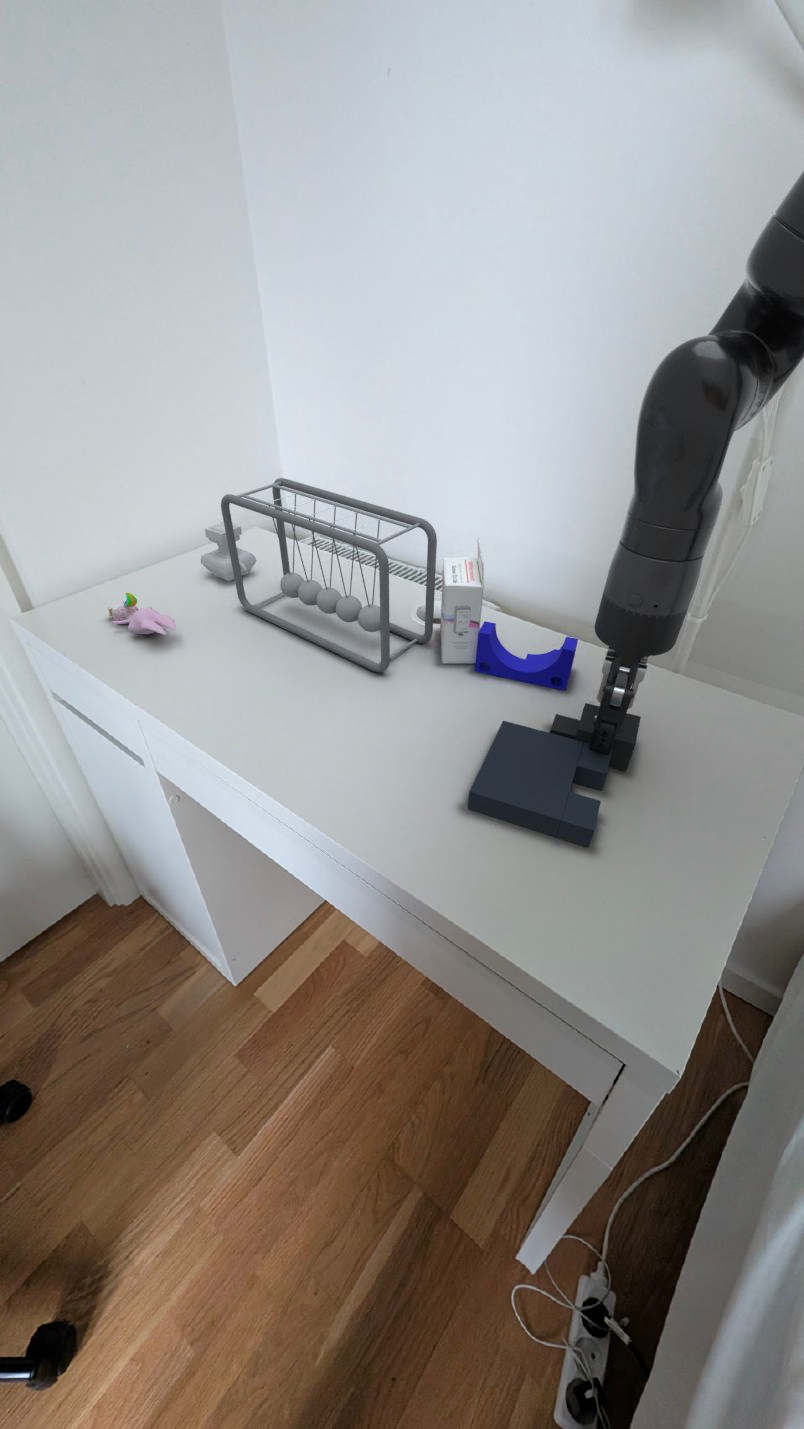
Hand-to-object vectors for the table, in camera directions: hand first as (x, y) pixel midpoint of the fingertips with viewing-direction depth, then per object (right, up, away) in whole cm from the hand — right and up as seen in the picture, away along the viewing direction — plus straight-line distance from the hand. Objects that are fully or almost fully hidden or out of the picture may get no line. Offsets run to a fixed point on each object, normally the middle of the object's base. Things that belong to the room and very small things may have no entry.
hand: (603, 733), depth 63 cm
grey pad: (-8, -6, -3) cm, 10 cm away
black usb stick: (-1, -2, +2) cm, 3 cm away
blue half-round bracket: (-6, +8, +14) cm, 17 cm away
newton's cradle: (-33, +15, +23) cm, 42 cm away
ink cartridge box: (-14, +11, +18) cm, 26 cm away
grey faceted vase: (-51, +26, +36) cm, 68 cm away
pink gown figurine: (-60, +14, +21) cm, 65 cm away
